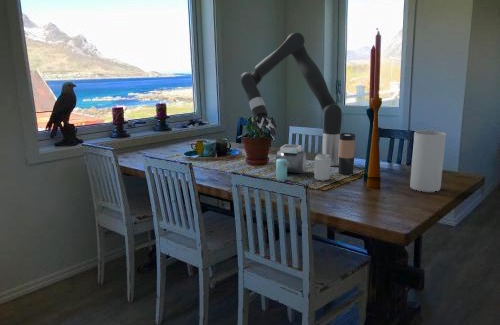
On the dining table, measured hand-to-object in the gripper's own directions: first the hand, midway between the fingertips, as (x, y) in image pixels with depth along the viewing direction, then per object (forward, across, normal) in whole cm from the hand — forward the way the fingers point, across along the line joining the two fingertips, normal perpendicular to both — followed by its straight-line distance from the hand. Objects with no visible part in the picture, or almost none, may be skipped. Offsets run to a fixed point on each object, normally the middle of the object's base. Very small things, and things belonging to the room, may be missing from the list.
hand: (268, 136), depth 212 cm
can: (+30, +11, -13) cm, 35 cm away
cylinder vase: (+51, +32, -49) cm, 78 cm away
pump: (+25, -4, -3) cm, 26 cm away
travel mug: (+30, +28, -15) cm, 44 cm away
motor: (+19, +10, +3) cm, 22 cm away
